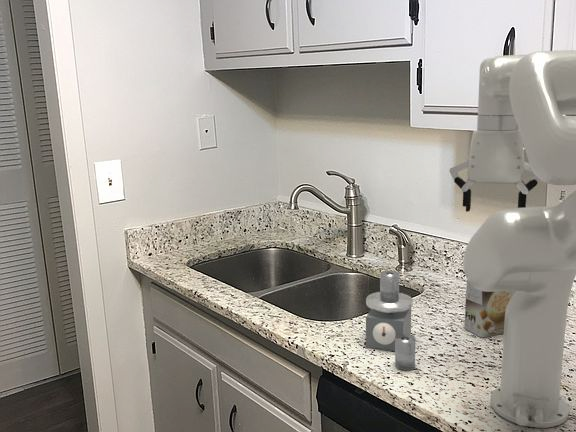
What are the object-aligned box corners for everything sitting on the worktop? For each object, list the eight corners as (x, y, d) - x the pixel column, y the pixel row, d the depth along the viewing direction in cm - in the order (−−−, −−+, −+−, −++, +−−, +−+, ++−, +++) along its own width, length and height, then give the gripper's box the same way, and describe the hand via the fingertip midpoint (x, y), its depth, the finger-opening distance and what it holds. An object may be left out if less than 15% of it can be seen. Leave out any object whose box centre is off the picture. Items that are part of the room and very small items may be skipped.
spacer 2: (412, 372, 118) (412, 344, 117) (392, 368, 120) (392, 341, 119) (417, 363, 122) (417, 336, 120) (398, 360, 123) (398, 333, 122)
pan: (408, 321, 125) (408, 310, 124) (361, 316, 128) (361, 305, 128) (415, 304, 134) (416, 293, 133) (371, 299, 137) (371, 289, 137)
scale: (402, 353, 126) (402, 322, 124) (364, 348, 129) (364, 318, 127) (410, 333, 136) (411, 304, 134) (375, 328, 139) (376, 300, 137)
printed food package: (481, 339, 132) (485, 269, 128) (463, 328, 138) (466, 261, 134) (515, 331, 135) (519, 263, 131) (495, 321, 141) (499, 255, 137)
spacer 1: (400, 297, 131) (400, 271, 130) (396, 303, 128) (397, 277, 126) (382, 295, 133) (382, 269, 131) (378, 301, 129) (378, 275, 128)
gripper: (546, 122, 115) (540, 209, 119) (453, 122, 121) (450, 205, 125) (547, 126, 108) (541, 218, 112) (449, 125, 114) (446, 213, 118)
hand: (493, 211), depth 118 cm, fingers open, 9 cm apart
